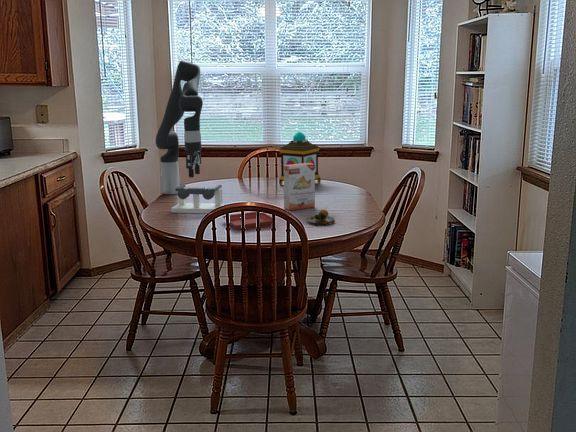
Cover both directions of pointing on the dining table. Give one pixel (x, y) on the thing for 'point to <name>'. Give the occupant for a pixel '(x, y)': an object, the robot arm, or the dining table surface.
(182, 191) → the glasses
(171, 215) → the dining table surface
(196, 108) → the robot arm
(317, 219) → the small succulent plant
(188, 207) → the display stand
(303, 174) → the cracker box
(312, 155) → the decorative lantern
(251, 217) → the plant saucer
